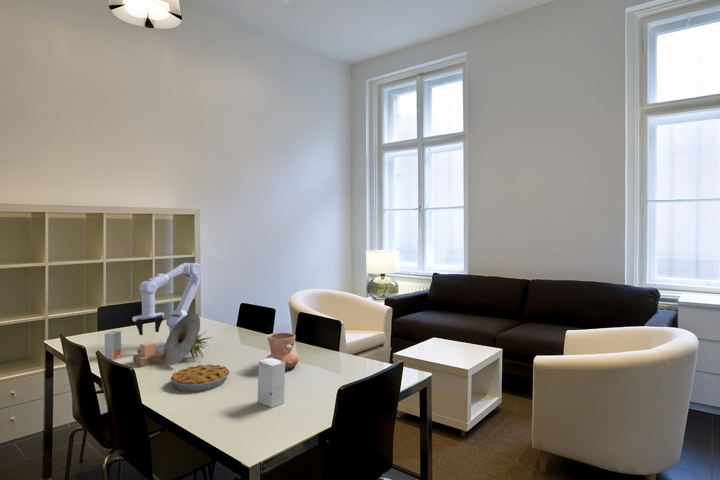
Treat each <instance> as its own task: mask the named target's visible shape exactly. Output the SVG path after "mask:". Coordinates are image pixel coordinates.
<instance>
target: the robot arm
mask: <svg viewBox="0 0 720 480" xmlns="http://www.w3.org/2000/svg"><path fill="white" fill-rule="evenodd" d="M202 272H203V269H202V266H201V264H200V263H198V262H195V263H194V262H184V263H181V264H179V265H178V266H177V267H175V268H173V269H172V270H170V271H168V272H167V273H157V274H156V276H154V277H151V278H148V281H147V280H145V281H142V282H141V283H140V285H139V287H138V290H139V292H140V293H141V314H140V315H139V314H138V315H135V316H132V318H131V319H132V322H133V323H134V324H135V326H136V328H137V330H138V333H139V336H143V335H144V334H143V331H144V330H143V327H144V320H149V319H153V320H154V330H155V333H159V332H160V327H161V324H162V322H163V321H164V317H165V312H156V303H155V302H156V299H155V296H156V295H155V293H156V292H157V291H158V289H159V288H161V287H163V286H165V285H167V284H168V283H169V280H171V279H174V278H175V277H178V276H180V275H182V274H183V276H185V278H186V279H187V281H188V282H187V284H186V286H185V289H184V291H183V294H182V296H181V297H180V301H179V303H178V305H177V307H176V309H175V310H173V311H172V312H171V314H170V316H168V317H167V318H166V321H165V322H166V325H167V327H168V330H169V334H170V333H171V331H172V330H173V328H174V327H175V325H176V324H177V323H178V322H179V321H180V320H181V319H182V318H183V317H185V316H186V315H188V311H189V308H190V307H191V303H192V302H193V299H194V297H195V294H196V293H197V290H198V289H199V285H200V283H201V277H202Z"/></svg>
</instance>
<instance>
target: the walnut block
mask: <svg viewBox="0 0 720 480" xmlns="http://www.w3.org/2000/svg"><path fill="white" fill-rule="evenodd" d="M132 359H133V361H132V362H133V364H135V365H137V366H138V367H140V368H143V367H149V366H153V365H157V364H163V363H165V362H164V354H162V353H160V352H158V351H156V354H155V355H151V356H146V357H144V356H142V355H140V352H138V353H135V354H132Z"/></svg>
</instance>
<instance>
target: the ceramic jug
mask: <svg viewBox="0 0 720 480" xmlns="http://www.w3.org/2000/svg"><path fill="white" fill-rule="evenodd" d="M267 341H268V345H269V349H270V352H271V353H270V354H269V355H267V357H266V358H265V359H267V358H274V359H277V360H280V361H282V362H285V371H286V370H290V369H292V368H294V367H296V365H298V363H299V360H300V359H299V357H298V355H296V353H294V352H293V351H292V350H293V347H294V344H295V342H296V334H295V333H291V332H275V333H270V334H268V335H267Z"/></svg>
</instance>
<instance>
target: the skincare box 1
mask: <svg viewBox="0 0 720 480" xmlns="http://www.w3.org/2000/svg"><path fill="white" fill-rule="evenodd" d="M105 356H106V357H108V358H109V359H108V360H114V359H116V358H119V357H121V356H122V331H117V330H113V331H109V332H107V333H104V357H105Z"/></svg>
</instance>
